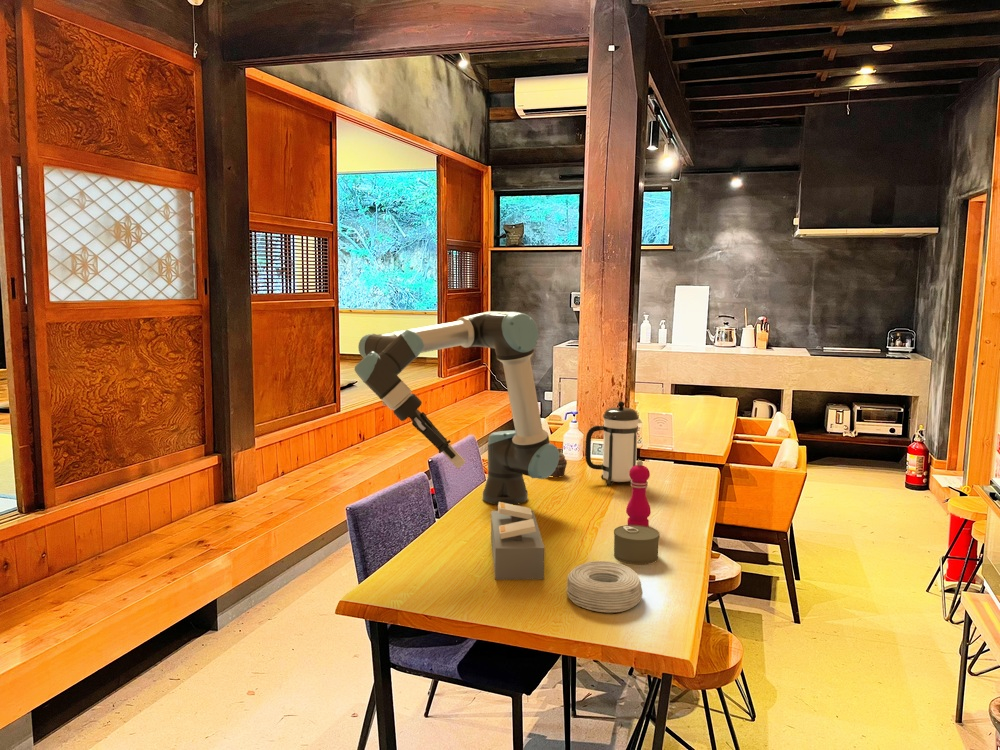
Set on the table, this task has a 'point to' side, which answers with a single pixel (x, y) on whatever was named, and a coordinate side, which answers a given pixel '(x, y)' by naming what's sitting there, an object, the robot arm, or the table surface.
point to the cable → (604, 586)
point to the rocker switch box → (516, 551)
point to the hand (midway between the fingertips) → (461, 464)
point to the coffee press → (616, 443)
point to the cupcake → (560, 465)
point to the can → (636, 544)
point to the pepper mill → (638, 496)
